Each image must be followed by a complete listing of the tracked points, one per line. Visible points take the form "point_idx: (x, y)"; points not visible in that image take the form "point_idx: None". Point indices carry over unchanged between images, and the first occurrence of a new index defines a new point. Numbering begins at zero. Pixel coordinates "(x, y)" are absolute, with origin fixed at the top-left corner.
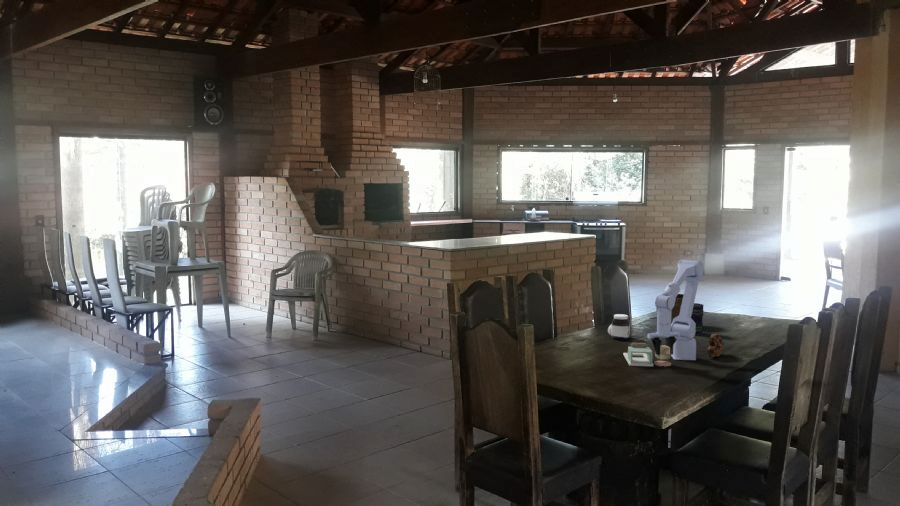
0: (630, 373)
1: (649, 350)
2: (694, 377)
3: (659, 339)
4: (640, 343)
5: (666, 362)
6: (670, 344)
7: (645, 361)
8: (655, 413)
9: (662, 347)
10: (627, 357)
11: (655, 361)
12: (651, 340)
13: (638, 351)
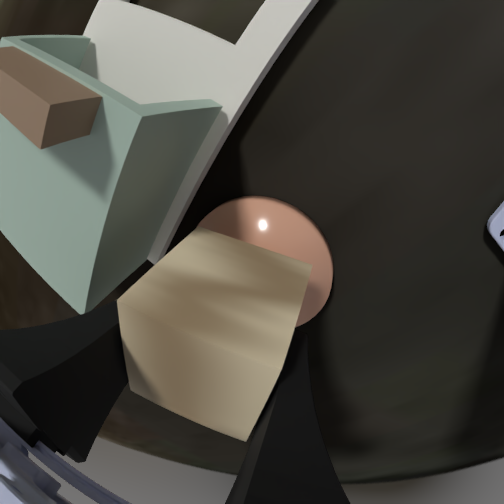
0: (34, 274)
1: (74, 266)
2: (231, 444)
3: (66, 447)
4: (1, 113)
5: None
6: (239, 471)
7: None
8: None
9: (158, 395)
10: (106, 2)
11: (226, 209)
12: (8, 332)
13: (7, 236)
